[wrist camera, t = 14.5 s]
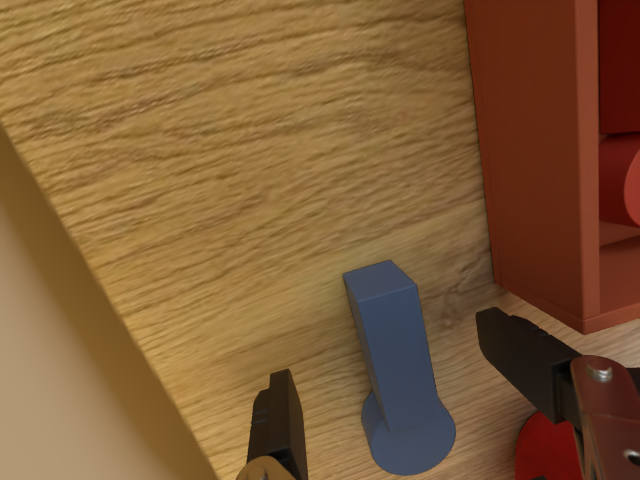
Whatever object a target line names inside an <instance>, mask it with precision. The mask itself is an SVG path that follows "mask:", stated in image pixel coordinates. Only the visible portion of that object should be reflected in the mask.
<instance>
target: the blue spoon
mask: <svg viewBox="0 0 640 480" xmlns="http://www.w3.org/2000/svg"><path fill="white" fill-rule="evenodd" d="M343 278H344V282H345V286H346V290H347V294H348V298H349V302H350V306H351V310H352V314H353V317H354V321H355V325H356V329H357V333H358V337H359V341H360V345H361V349H362V353H363V356H364V360H365V364H366V368H367V372H368V376H369V380H370V384H371V387H372V389H373V391H372V392H371V393H370V395H369V396H368V397H367V399H366V401H365V403H364V405H363V408H362V414H361V420H362V425H363V428H364V432H365V435H366V438H367V441H368V445H369V448H370V451H371V454H372V457H373V459H374V461H375V462H376V463H377V464H378V466H379V467H381V468H382V469H383V470H385V471H387V472H389V473H391V474H395V475H402V476H408V475H416V474H419V473H423V472H425V471H427V470H430V469H431V468H433V467H435V466H436V465H438V464H439V463H440V462H441V461H442V460H443V459H444V458H445V457H446V456H447V455H448V453H449V452H450V451H451V449H452V447H453V444H454V442H455V437H456V429H455V424H454V421H453V419H452V417H451V415H450V414H449V412H448V411H447V409H446V408H445V406H444V405H443V403H442V402H441V400H440V399H439V397H438V396H437V391H436V386H435V380H434V375H433V370H432V364H431V359H430V353H429V348H428V343H427V337H426V332H425V327H424V321H423V316H422V311H421V305H420V300H419V295H418V289H417V285H416V284H415V283H414V282H413V281H412V280H411V279H410V278H409V277H408V276H407V275H406V274H405V273H404V272H403V271H402V270H401V269H400V268H398V267H397V266H396V265H395V264H394V263H393V262H392V261H391V260H388V261H385V262H381V263H378V264H374V265H371V266H367V267H364V268H360V269H357V270H354V271H350V272H347V273H343Z"/></svg>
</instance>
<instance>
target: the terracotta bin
mask: <svg viewBox="0 0 640 480" xmlns="http://www.w3.org/2000/svg"><path fill="white" fill-rule="evenodd" d="M464 7H465V16H466V25H467V34H468V43H469V52H470V61H471V70H472V79H473V88H474V97H475V106H476V115H477V125H478V134H479V143H480V152H481V161H482V170H483V179H484V188H485V197H486V206H487V215H488V224H489V234H490V243H491V252H492V261H493V270H494V279H495V283H496V284H497V285H499V286H501V287H503V288H504V289H506V290H508V291H509V292H511V293H513V294H515V295H516V296H518V297H520V298H521V299H523V300H525V301H526V302H528V303H530V304H532V305H533V306H535V307H537V308H538V309H540V310H542V311H544V312H545V313H547V314H549V315H550V316H552V317H554V318H555V319H557V320H559V321H561V322H562V323H564V324H566V325H567V326H569V327H571V328H573V329H574V330H576V331H578V332H579V333H581V334H583V335H587V334H590V333H593V332H596V331H600V330H603V329H606V328H609V327H613V326H616V325H619V324H622V323H626V322H629V321H632V320H635V319H638V318H640V228H635V227H629V226H624V225H619V224H614V223H609V222H604V221H601V220H599V170H598V145H599V144H600V143H601V142H602V141H603V140H604V139H605V138H607V137H608V136H609V135H611V134H601V133H600V39H599V0H464Z"/></svg>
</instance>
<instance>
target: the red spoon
mask: <svg viewBox="0 0 640 480" xmlns="http://www.w3.org/2000/svg"><path fill="white" fill-rule="evenodd" d="M599 39H600V133H601V134H611V135H609V136H608V137H607V138H605V139H604V140H603V141H602V142H601V143H600V144H599V145H598V170H599V220H601V221H604V222H609V223H614V224H619V225H624V226H629V227H635V228H640V0H599Z"/></svg>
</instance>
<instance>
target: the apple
mask: <svg viewBox="0 0 640 480" xmlns="http://www.w3.org/2000/svg"><path fill="white" fill-rule="evenodd" d="M542 475H544V477H545V478H546V479H547V480H583V479H582V474H581V469H580V464H579V459H578V454H577V449H576V444H575V439H574V434H573V425H572V424H571V423H570V422H569V421H565V422H562V423H559V424H556V425H554V424H553V423H552V422H551V421H550V420H549V419H548V418H547V417H546V416H544V415H543V414H542V413H541V412H540V411H538V412H537V413H536V414H534V415H533V416H532V417H530V419H529V420H528V422H527V423H526V424H525V426H524V427H523V429H522V430H521V432H520V434H519V437H518V441H517V445H516V448H515V480H530V479H533V478H536V477H539V476H542Z"/></svg>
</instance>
